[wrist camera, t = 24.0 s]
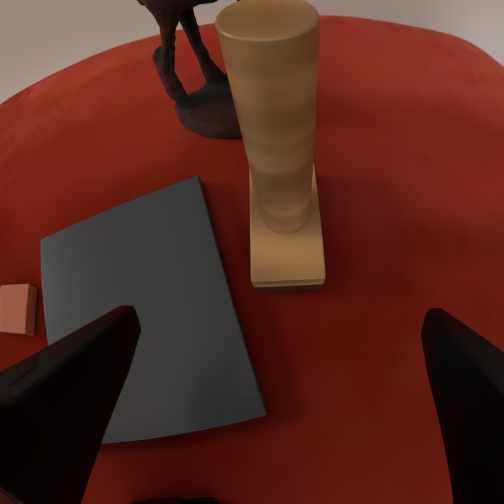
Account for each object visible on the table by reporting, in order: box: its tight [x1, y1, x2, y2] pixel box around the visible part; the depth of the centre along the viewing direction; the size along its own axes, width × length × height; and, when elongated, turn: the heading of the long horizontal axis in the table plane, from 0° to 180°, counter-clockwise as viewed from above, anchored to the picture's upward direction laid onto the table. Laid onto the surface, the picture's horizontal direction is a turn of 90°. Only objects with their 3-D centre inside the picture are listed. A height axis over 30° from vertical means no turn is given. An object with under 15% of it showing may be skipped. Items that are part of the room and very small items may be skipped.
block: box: [0, 284, 38, 336], centre depth 21 cm, size 4×4×1 cm
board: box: [41, 176, 268, 444], centre depth 20 cm, size 16×14×1 cm
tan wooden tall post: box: [215, 0, 326, 292], centre depth 14 cm, size 8×4×15 cm, turn 1°
